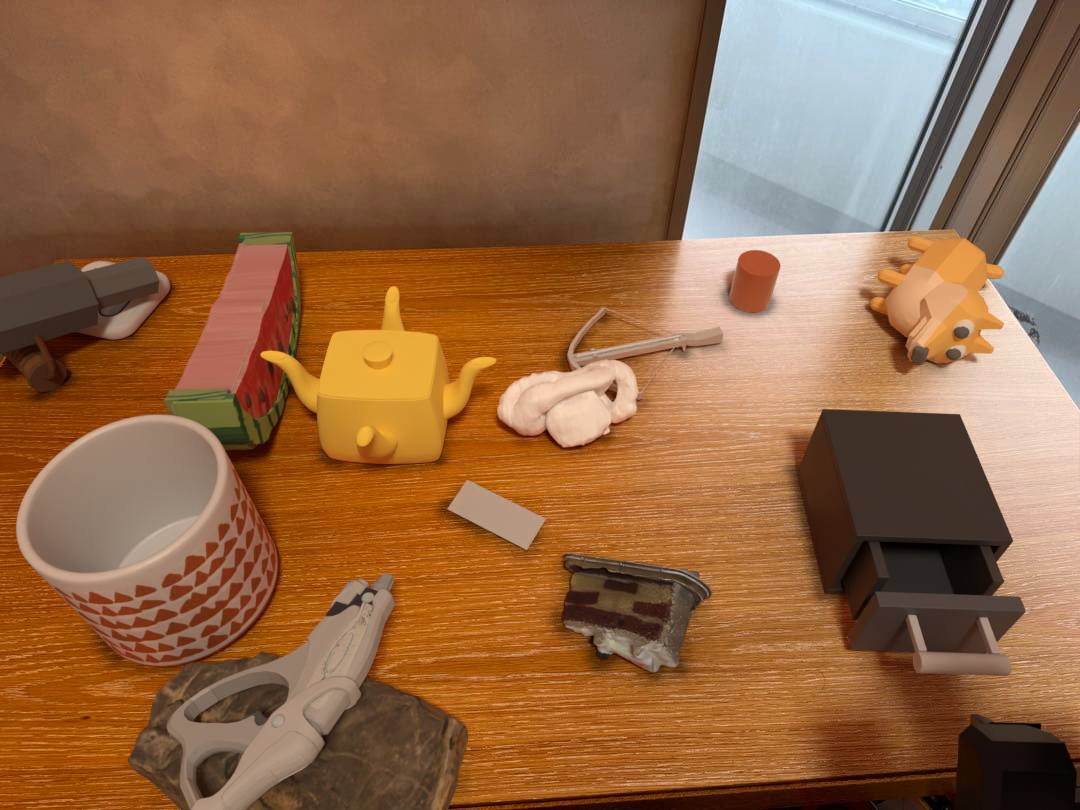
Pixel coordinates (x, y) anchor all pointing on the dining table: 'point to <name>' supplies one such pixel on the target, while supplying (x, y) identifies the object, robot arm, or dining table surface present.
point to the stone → (342, 764)
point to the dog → (940, 300)
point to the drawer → (931, 605)
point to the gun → (310, 709)
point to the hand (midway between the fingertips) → (1053, 724)
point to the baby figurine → (570, 402)
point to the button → (125, 310)
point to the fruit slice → (244, 346)
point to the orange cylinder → (754, 280)
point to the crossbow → (637, 346)
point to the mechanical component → (62, 310)
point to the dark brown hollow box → (894, 486)
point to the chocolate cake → (632, 607)
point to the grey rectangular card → (497, 514)
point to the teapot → (382, 392)
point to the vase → (150, 539)
